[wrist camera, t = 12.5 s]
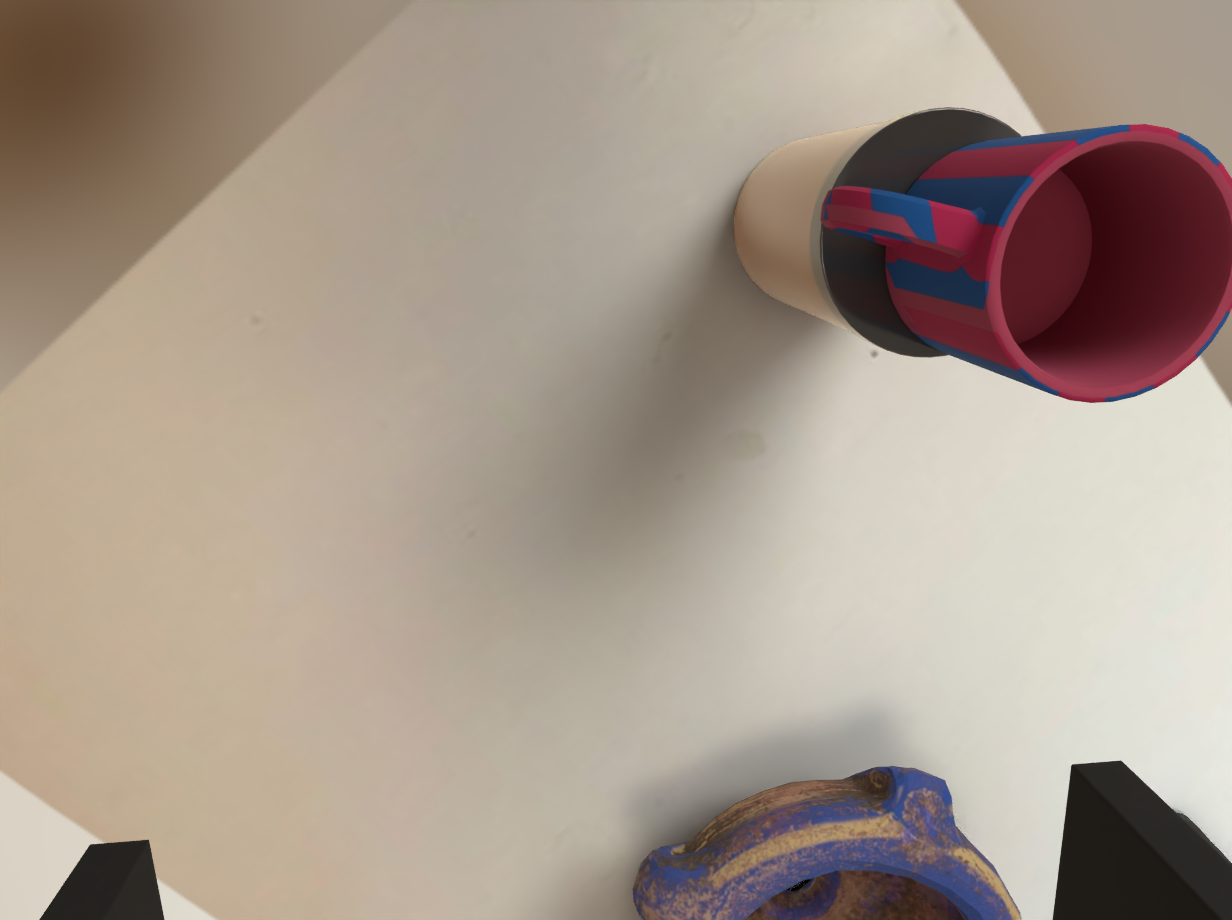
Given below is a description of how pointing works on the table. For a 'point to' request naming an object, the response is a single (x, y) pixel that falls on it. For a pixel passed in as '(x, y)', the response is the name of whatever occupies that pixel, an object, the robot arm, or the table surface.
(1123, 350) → the mug
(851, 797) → the bowl
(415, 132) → the table surface
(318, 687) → the table surface
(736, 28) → the table surface
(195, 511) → the table surface
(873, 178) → the jar
